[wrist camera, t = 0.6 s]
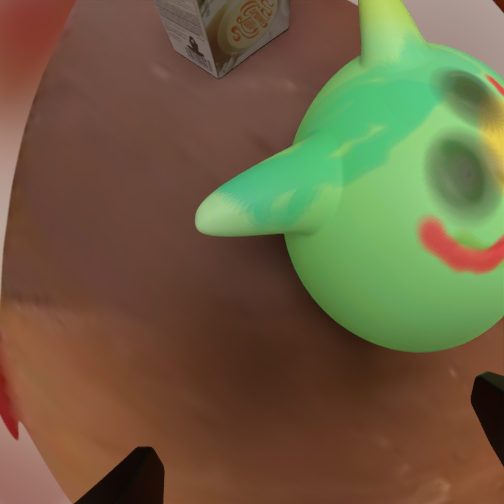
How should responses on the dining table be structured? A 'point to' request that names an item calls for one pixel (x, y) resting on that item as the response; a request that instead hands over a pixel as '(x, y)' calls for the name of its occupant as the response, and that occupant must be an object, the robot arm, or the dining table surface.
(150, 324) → the dining table surface
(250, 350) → the dining table surface
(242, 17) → the coffee box
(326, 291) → the toy bird
